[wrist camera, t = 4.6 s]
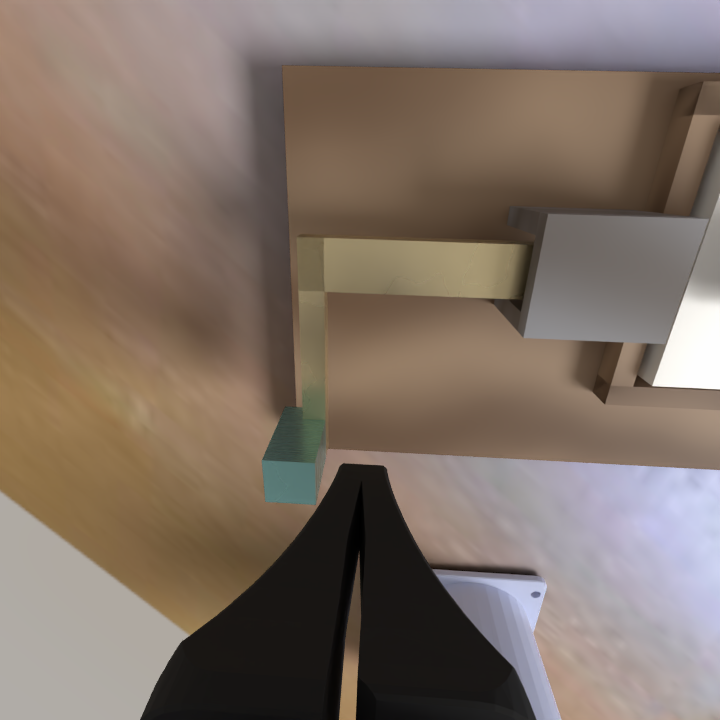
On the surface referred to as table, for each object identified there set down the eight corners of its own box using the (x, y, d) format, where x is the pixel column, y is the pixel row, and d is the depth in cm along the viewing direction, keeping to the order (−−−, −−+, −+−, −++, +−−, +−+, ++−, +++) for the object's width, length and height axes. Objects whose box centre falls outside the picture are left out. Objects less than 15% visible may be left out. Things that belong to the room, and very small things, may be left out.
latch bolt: (544, 456, 15) (582, 520, 13) (287, 442, 16) (265, 501, 13) (598, 243, 12) (665, 263, 9) (275, 233, 13) (243, 248, 10)
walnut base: (819, 455, 19) (961, 544, 14) (304, 428, 19) (279, 504, 15) (1031, 90, 13) (1384, 41, 8) (291, 76, 14) (246, 25, 9)
